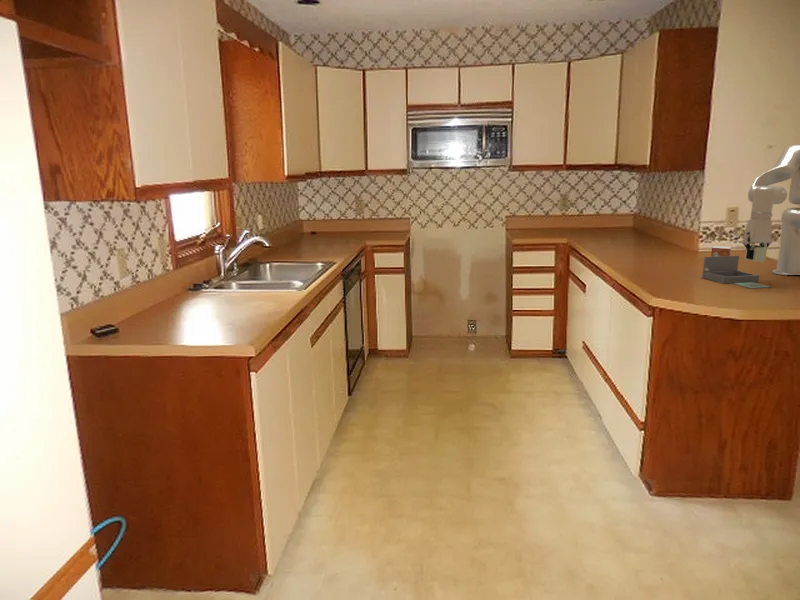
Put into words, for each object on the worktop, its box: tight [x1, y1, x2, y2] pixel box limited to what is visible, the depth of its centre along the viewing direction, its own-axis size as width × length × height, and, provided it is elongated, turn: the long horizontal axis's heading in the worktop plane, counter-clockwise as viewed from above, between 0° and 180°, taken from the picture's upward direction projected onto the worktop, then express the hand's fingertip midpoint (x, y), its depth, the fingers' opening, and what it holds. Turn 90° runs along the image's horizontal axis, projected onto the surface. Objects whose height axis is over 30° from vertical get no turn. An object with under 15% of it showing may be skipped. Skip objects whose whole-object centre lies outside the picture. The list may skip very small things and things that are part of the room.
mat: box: [732, 282, 771, 289], centre depth 262 cm, size 10×10×1 cm
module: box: [744, 244, 768, 263], centre depth 258 cm, size 5×6×6 cm
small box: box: [710, 245, 732, 257], centre depth 288 cm, size 8×6×13 cm
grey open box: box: [701, 254, 760, 285], centre depth 273 cm, size 18×15×10 cm
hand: (755, 258), depth 259 cm, fingers closed on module, 5 cm apart
